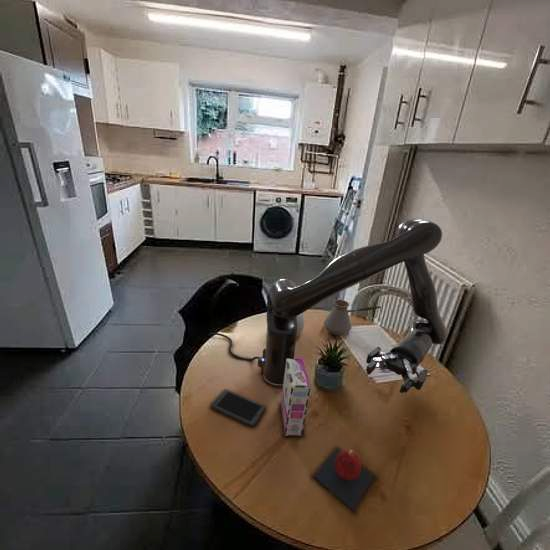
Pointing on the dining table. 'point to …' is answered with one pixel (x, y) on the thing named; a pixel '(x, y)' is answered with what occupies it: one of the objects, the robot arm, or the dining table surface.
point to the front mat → (343, 482)
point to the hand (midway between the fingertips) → (384, 380)
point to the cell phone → (238, 407)
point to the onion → (348, 465)
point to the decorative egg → (300, 323)
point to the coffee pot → (341, 317)
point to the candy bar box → (294, 397)
